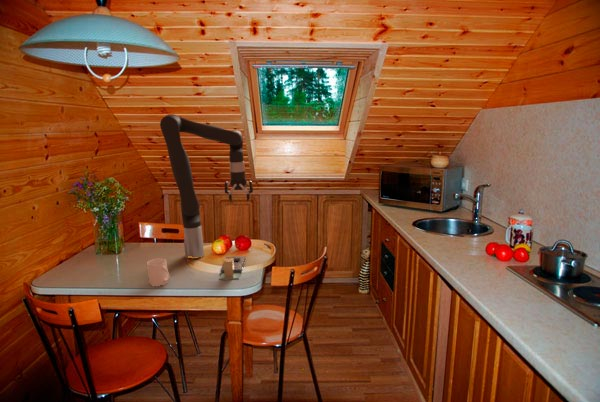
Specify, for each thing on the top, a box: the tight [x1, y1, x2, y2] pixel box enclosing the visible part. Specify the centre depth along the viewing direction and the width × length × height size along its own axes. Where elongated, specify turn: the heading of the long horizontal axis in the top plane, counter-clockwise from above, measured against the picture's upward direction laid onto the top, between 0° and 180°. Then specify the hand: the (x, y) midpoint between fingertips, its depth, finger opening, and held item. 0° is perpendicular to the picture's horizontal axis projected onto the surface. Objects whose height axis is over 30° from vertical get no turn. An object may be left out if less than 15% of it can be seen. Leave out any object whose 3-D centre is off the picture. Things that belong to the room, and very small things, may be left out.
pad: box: [219, 273, 241, 281], centre depth 202 cm, size 9×6×1 cm, turn 90°
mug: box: [146, 257, 170, 287], centre depth 196 cm, size 9×12×11 cm
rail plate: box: [220, 255, 247, 275], centre depth 213 cm, size 10×16×2 cm, turn 179°
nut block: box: [223, 257, 235, 277], centre depth 201 cm, size 4×4×8 cm
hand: (239, 200), depth 219 cm, fingers open, 8 cm apart
